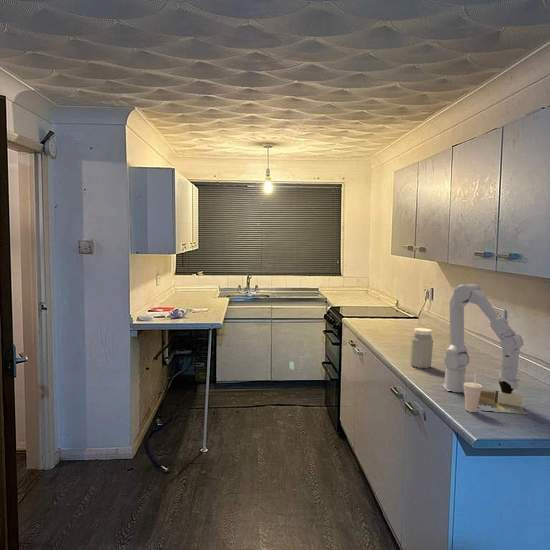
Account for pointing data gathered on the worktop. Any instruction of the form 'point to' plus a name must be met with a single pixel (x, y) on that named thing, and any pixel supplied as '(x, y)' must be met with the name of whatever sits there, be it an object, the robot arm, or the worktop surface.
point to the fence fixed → (488, 396)
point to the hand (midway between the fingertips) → (505, 401)
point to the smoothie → (472, 395)
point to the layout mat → (504, 407)
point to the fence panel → (510, 399)
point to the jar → (421, 348)
